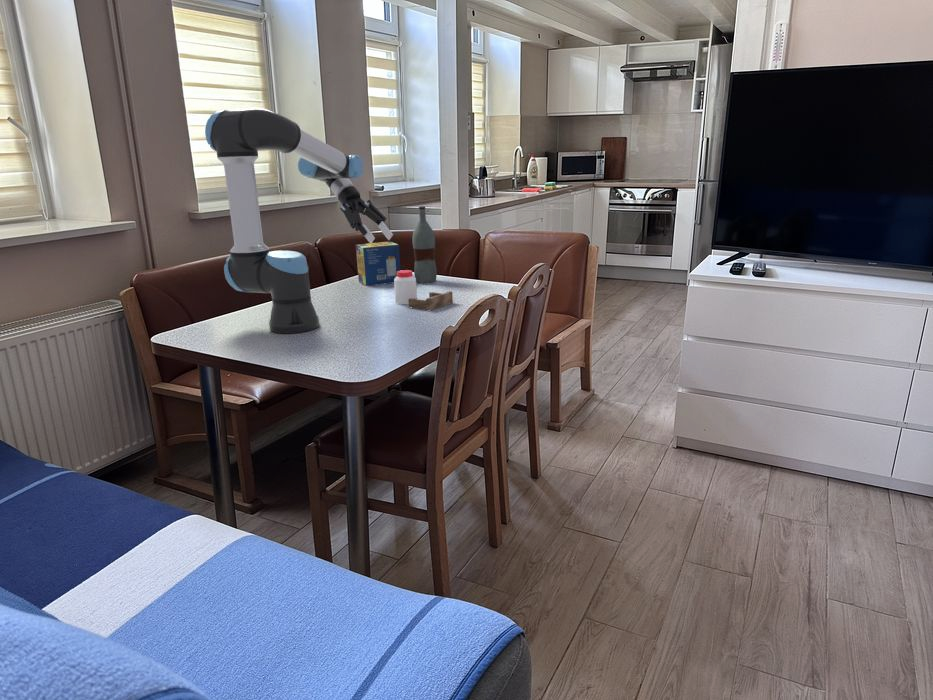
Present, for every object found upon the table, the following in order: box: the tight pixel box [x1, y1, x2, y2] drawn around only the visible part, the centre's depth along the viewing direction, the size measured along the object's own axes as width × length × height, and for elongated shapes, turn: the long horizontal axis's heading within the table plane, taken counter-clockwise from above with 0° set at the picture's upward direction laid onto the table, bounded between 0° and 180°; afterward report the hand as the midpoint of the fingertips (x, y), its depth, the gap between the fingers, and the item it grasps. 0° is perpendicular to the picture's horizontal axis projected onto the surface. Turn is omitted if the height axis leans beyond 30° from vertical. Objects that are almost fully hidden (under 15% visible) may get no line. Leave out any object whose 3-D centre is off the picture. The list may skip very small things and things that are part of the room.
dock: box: [408, 290, 454, 311], centre depth 226 cm, size 13×9×4 cm
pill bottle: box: [393, 269, 418, 305], centre depth 232 cm, size 8×8×11 cm
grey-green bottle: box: [411, 206, 438, 285], centre depth 263 cm, size 9×9×30 cm
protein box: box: [355, 240, 401, 287], centre depth 269 cm, size 10×15×16 cm
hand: (381, 239), depth 232 cm, fingers open, 9 cm apart
